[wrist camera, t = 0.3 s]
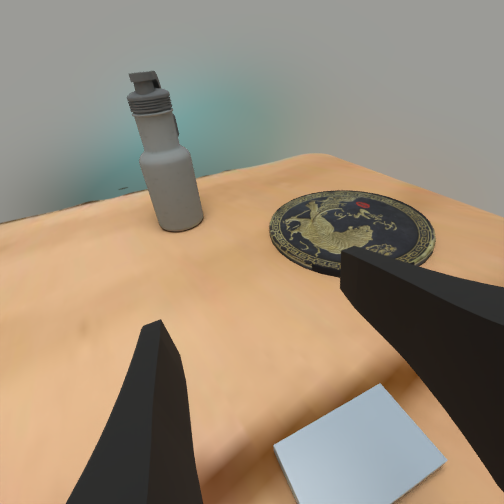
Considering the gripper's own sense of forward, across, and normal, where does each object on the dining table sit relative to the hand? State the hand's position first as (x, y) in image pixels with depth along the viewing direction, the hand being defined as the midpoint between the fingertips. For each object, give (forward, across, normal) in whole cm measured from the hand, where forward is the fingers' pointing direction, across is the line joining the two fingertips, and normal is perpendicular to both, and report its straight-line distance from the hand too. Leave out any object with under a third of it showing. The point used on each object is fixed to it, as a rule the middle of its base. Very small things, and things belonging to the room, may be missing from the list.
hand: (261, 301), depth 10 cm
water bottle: (+50, +2, +19) cm, 54 cm away
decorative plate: (+31, -27, +22) cm, 47 cm away
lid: (0, -5, +22) cm, 23 cm away
